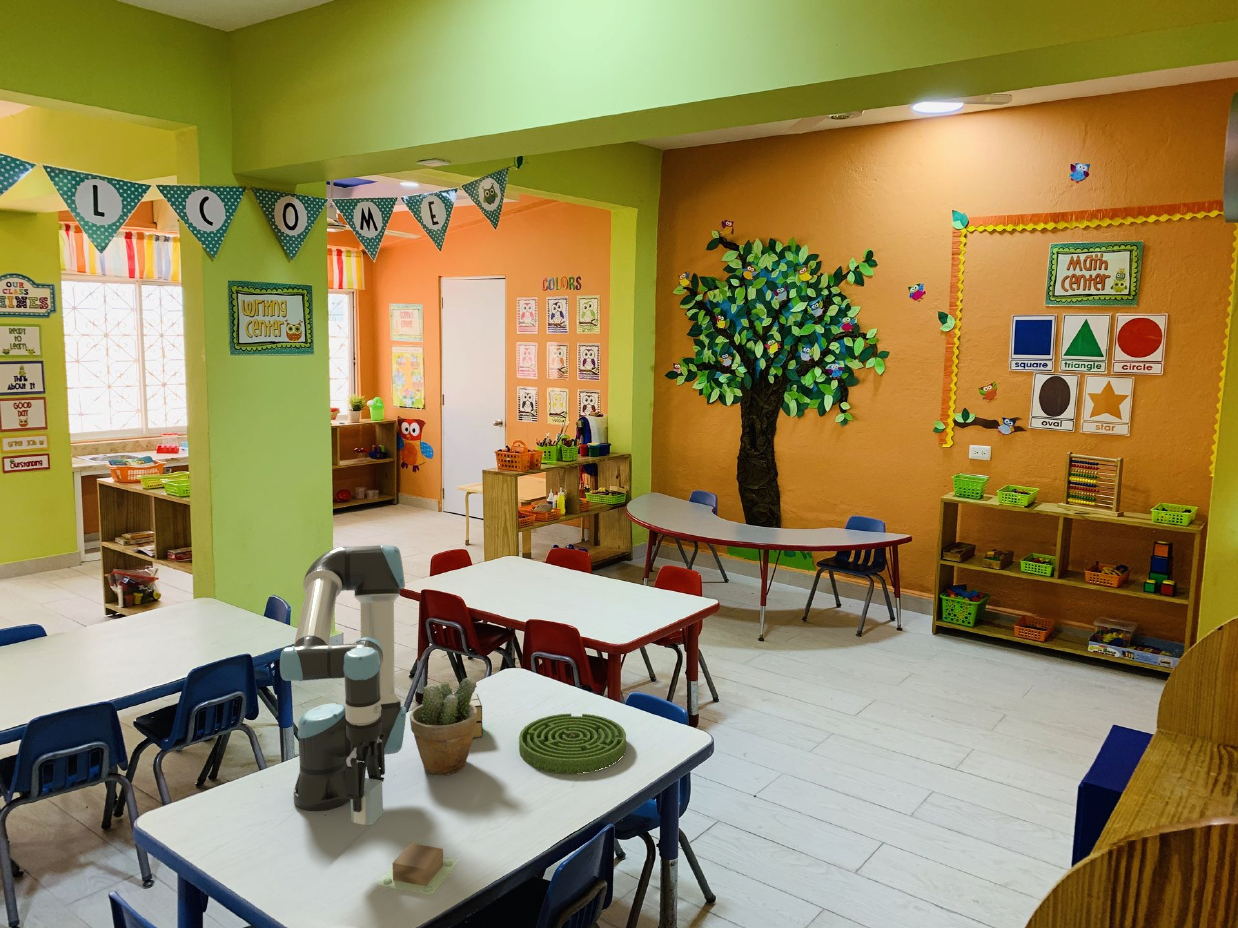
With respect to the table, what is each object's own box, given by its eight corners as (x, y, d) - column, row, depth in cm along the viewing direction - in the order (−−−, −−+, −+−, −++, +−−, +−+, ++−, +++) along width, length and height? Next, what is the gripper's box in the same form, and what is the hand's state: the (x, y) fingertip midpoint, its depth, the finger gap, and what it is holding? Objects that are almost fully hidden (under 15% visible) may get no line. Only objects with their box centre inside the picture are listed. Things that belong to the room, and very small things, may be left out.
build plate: (376, 888, 193) (376, 883, 193) (406, 855, 205) (406, 850, 205) (431, 899, 189) (431, 893, 189) (458, 864, 202) (458, 859, 202)
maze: (626, 727, 275) (626, 712, 274) (624, 776, 244) (625, 759, 243) (526, 725, 276) (526, 710, 275) (512, 774, 245) (512, 756, 244)
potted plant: (427, 788, 236) (425, 698, 233) (399, 761, 251) (397, 676, 247) (489, 769, 247) (488, 682, 243) (459, 744, 262) (458, 662, 258)
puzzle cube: (444, 727, 273) (444, 696, 272) (477, 723, 276) (477, 692, 275) (448, 741, 264) (448, 709, 262) (482, 737, 267) (482, 705, 265)
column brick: (351, 821, 199) (350, 788, 198) (363, 809, 204) (362, 777, 202) (371, 825, 198) (370, 791, 196) (383, 813, 202) (381, 780, 201)
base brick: (393, 879, 194) (392, 862, 194) (410, 859, 202) (410, 842, 201) (426, 885, 192) (426, 868, 192) (443, 865, 200) (442, 848, 199)
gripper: (356, 738, 187) (360, 840, 191) (399, 703, 204) (402, 797, 208) (325, 734, 189) (329, 835, 193) (370, 699, 206) (373, 793, 210)
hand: (367, 815), depth 201 cm, fingers closed on column brick, 5 cm apart
